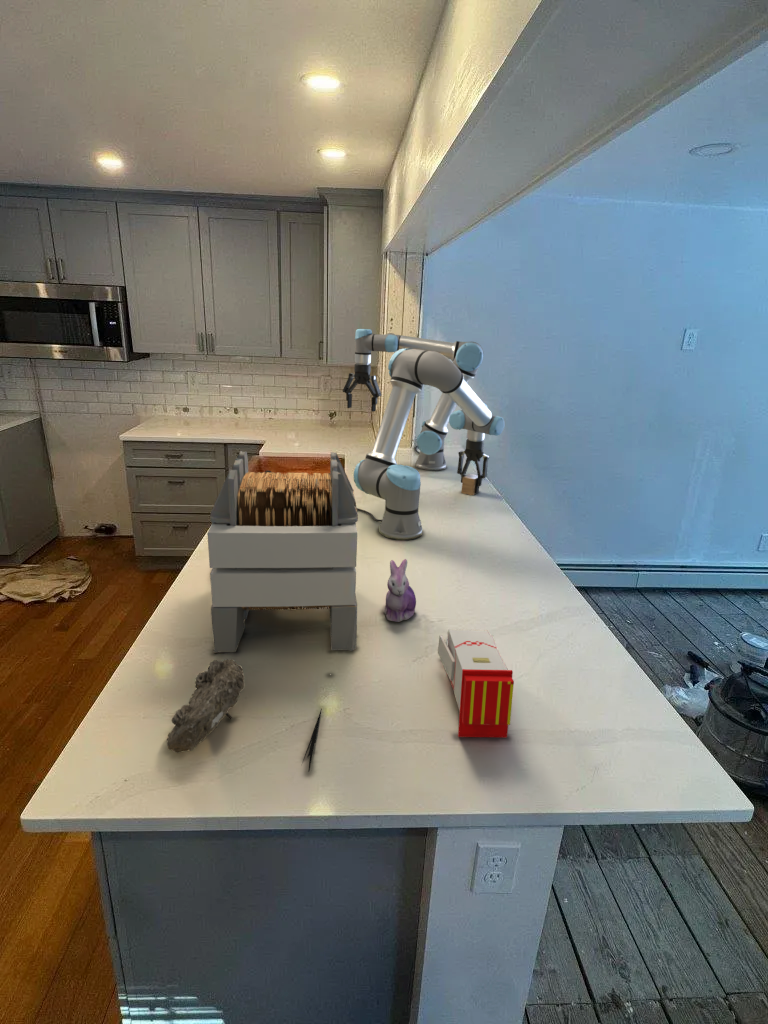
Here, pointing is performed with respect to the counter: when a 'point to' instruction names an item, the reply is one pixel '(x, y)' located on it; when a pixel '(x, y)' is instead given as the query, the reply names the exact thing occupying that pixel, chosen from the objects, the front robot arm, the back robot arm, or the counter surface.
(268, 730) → the counter surface
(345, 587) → the record storage crate
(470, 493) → the brown block
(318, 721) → the feather
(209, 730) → the fossil
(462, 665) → the toy
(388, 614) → the figurine
